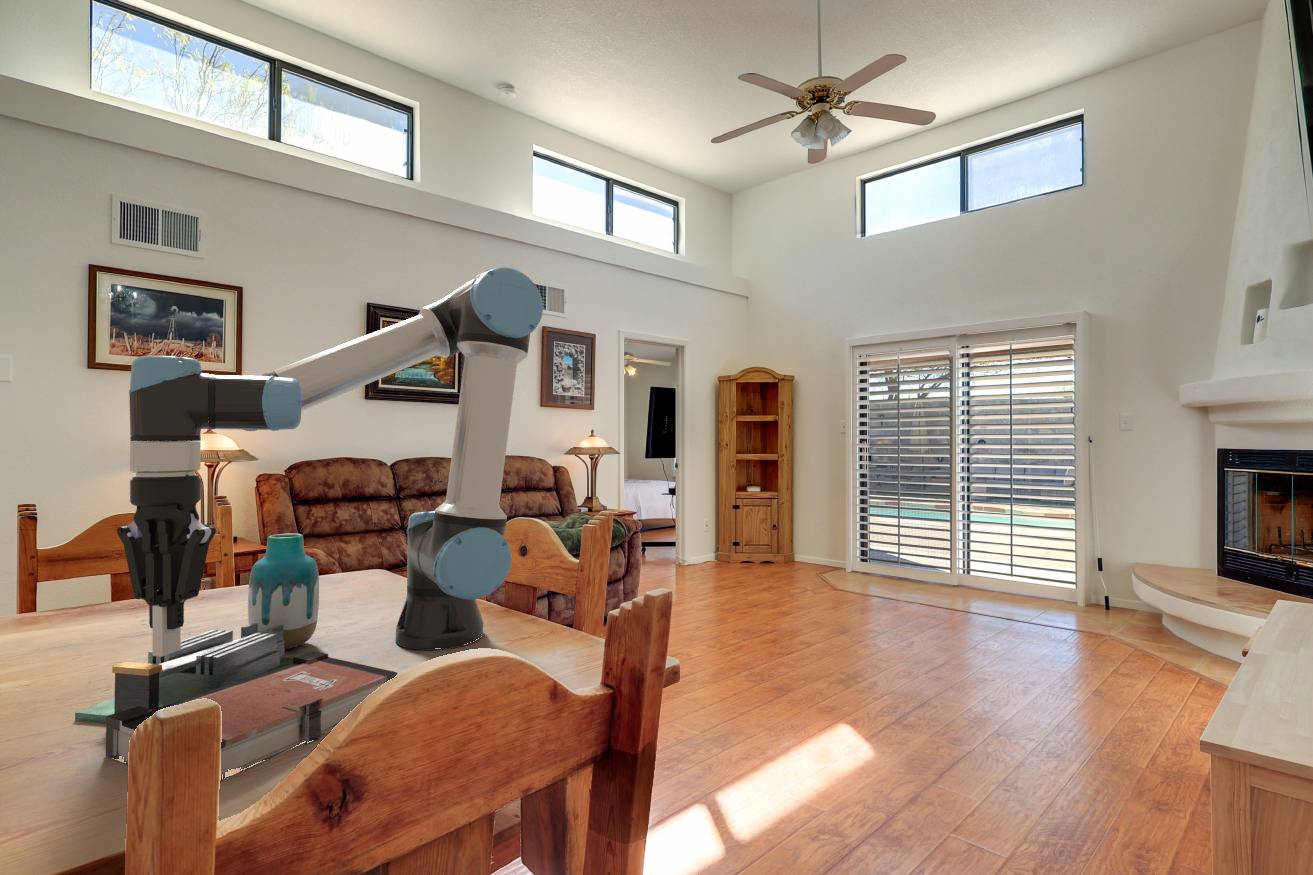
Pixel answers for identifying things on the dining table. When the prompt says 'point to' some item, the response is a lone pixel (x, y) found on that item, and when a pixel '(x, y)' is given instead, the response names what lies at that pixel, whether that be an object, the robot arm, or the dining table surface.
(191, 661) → the strap
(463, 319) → the robot arm
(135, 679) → the heatsink
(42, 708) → the dining table surface
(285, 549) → the vase
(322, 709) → the brown labeled slab
